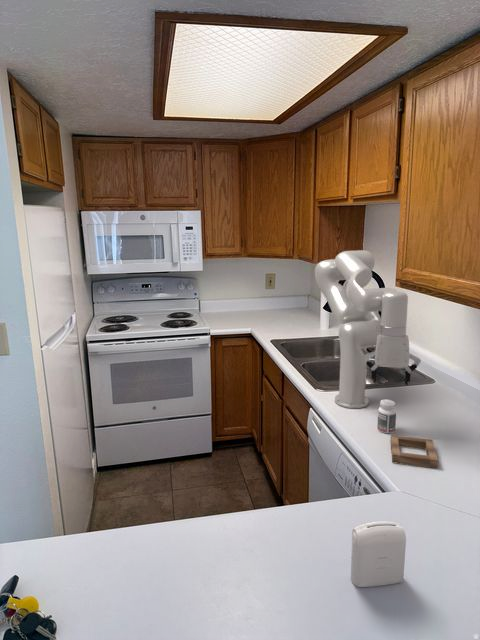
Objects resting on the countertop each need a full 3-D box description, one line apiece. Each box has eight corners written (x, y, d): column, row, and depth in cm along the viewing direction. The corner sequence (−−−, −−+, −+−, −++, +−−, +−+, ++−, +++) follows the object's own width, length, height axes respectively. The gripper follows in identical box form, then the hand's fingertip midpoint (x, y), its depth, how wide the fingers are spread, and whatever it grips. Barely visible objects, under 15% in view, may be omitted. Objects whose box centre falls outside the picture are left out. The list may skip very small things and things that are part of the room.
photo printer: (354, 590, 82) (357, 534, 79) (347, 572, 86) (349, 519, 83) (406, 585, 83) (411, 530, 80) (396, 567, 87) (400, 514, 84)
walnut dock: (390, 442, 135) (390, 434, 134) (431, 447, 132) (432, 439, 131) (392, 462, 124) (392, 454, 123) (437, 468, 120) (438, 460, 120)
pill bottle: (392, 426, 145) (394, 399, 143) (397, 434, 140) (399, 406, 137) (375, 425, 146) (377, 398, 143) (379, 433, 140) (380, 405, 138)
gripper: (364, 332, 134) (362, 384, 137) (424, 335, 129) (420, 388, 132) (364, 327, 141) (362, 376, 144) (421, 329, 136) (417, 380, 139)
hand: (390, 382), depth 138 cm, fingers open, 9 cm apart
